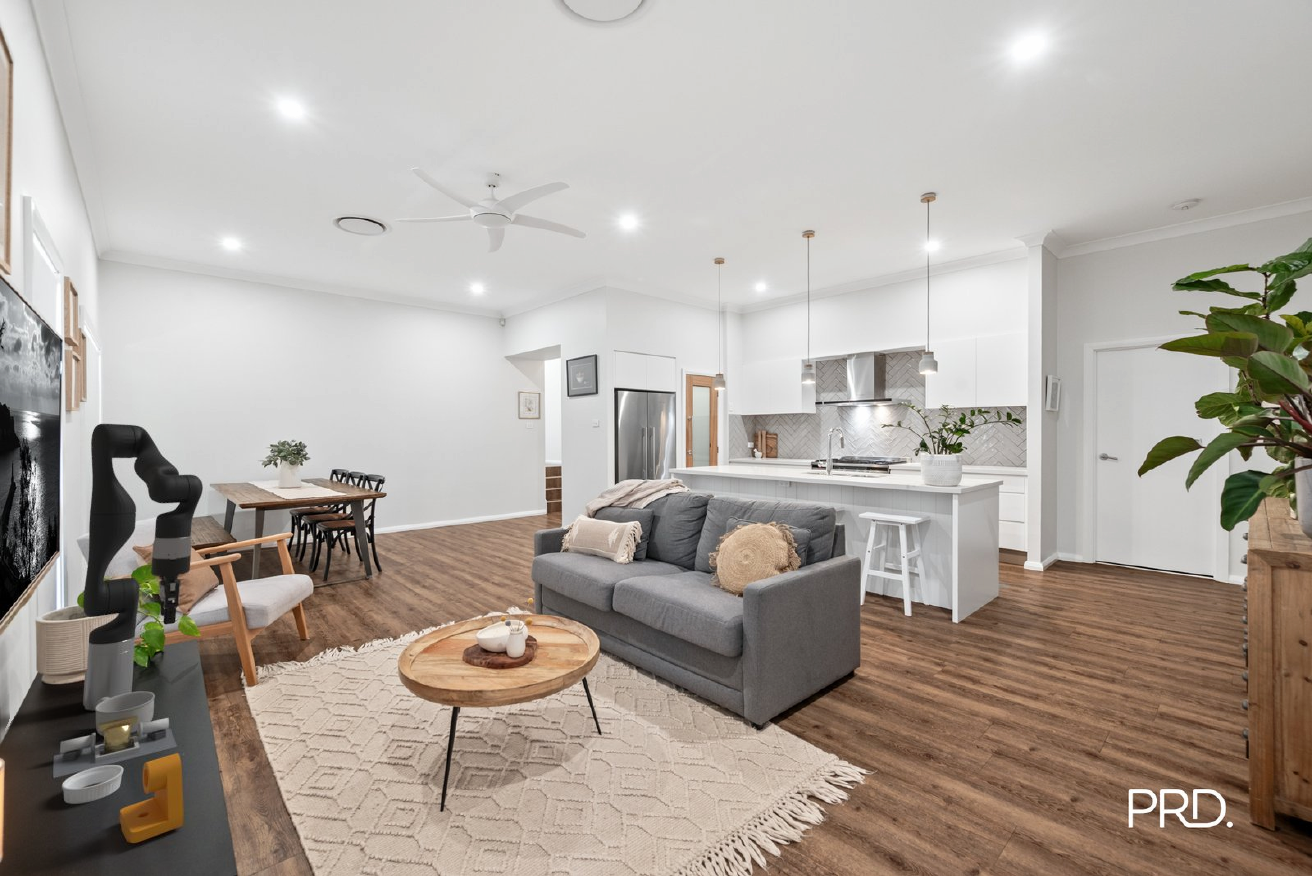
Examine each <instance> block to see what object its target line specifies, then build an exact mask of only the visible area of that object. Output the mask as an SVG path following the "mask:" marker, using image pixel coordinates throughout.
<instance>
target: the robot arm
mask: <svg viewBox="0 0 1312 876" xmlns="http://www.w3.org/2000/svg"><path fill="white" fill-rule="evenodd" d="M90 442H91V443H90V448H91V449H90V452H91V454H90V455H91V470H92V472H91V473H92V474H91V475H92V479H91V480H92V482H91V484H92V486H91V501H90V510H89V524H88V527H89V529H88V531H89V533H88V536H89V537H88V560H87V567H86V569H87V570H86V575H85V576H86V577H85V583H84V589H83V599H82V600H83V602H82V606H83V608H82V609H83V611H84V614H85V616H87V617H88V618H95V617H96V618H97V617H103V616H110V615H117V614H118V615H117V616H116V617H114V618H113V619H112V620H111V621H109V622H107V623H105V624H102V625H101V626H98V627H96V628H94V629H92V630H91V631H90V632H89V635H88V647H87V648H88V649H87V650H88V652H87V667H86V669H85V670H84V681H83V682H84V685H83V686H84V687H83V701H82V705H83V706H84V709H85V710H87V711H95V707H96V706H97V702H98V701H99V700H100V699H102V698H104V697H109V698H112V697H115V696H118V695H121V694H125V693H131V692H133V691H132V690H133V677H134V676H133V675H134V660H135V659H134V658H135V639H136V637H135V635H136V627H137V616H138V607H139V602H140V584H139V582H138V581H139V580H137V579H136V578H135V577H123V578H116V579H115V578H114V579H107V580H104V579H105V575H106V572H107V569H108V567H109V565H110V564H111V562H112V561H113V559H114V557H115V556H116V555H117V554H118V553H119V552H120V550H121V549H122V548H123V547H124V546H125V544H126V543H127V542H128V541H129V539H130V538H131V537H132V535H133V534H134V532H135V529H136V519H137V518H136V516H137V506H136V502H135V501H134V500H133V498H132V497H131V495H130V494H129V492H128V491H127V490H126V489H125V488H124V486H123V485H122V484H121V483H120V481H119V479H118V478H117V475H116V473H115V471H114V465H113V459H133V458H134V459H135V458H136V459H135V460H134V464H133V465H134V466H133V469H134V471H135V475H137V476H138V478H139V479H141V480H142V481H143V482H144V483H145V485H146V488H147V492H148V496H149V499H150V500H151V501H153V502H154V503H158V504H177V503H178V505H177V506H176V507H175V509H174V510H173V509H172V510H170V511H167V512H163V513H160V514H158V515H157V516H156V519H155V527H154V528H155V529H154V530H155V531H154V532H155V533H154V541H153V543H152V556H151V567H150V568H151V569H150V570H151V571H150V574H151V575H152V576H155V577H161V579H160V580H158V588H159V591H158V593H159V595H160V596H159V600H160V601H161V602H160V616H161V617H162V616H163V624H164V625H172V624H175V623H176V617H177V608H179V606H180V603H179V599H180V596H181V594H180V593H181V590H180V589H181V586H182V581H181V579H180V578H178V577H179V576H180V575H185V574H187V573H189V572H190V570H191V556H192V537H191V536H192V521H193V517H194V515H195V512H196V509H197V506H198V504H199V501H200V499H201V497H202V494H203V487H204V486H203V481H202V480H201V479H200V477H199V476H197V475H195V474H180V472H179V470H178V469H177V467H175V465H173V463H171V462H170V461H169V460H168V459H166V458H165V457H164V455H162V453H161V452H160V450H159V448H158V447H157V445H156V443H155V442H154V440H153V438H152V437H151V436H150V434H149V432H148V430H147V429H145V428H144V427H142V426H140V425H135V424H121V423H120V424H119V423H118V424H117V423H99V424H97V425H96V426H95V427H94V429H93V431H92V433H91V440H90Z"/></svg>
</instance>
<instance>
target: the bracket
mask: <svg viewBox="0 0 1312 876" xmlns="http://www.w3.org/2000/svg"><path fill="white" fill-rule="evenodd" d="M182 769H183V768H182V761H181V755H180V754H179V753H178V752H177V753H173V754H171V755H166V756H163V757H159V758H157V759H153V760H150V761H147V762H144V764H143V767H142V786H143V791H144V793H145V794H146V795H147V794H150V793H154V797H152V798H149V799H146V800H143V801H139V802H136V803H134V804H131V805H127V806H125V807H123V808H121V809H120V810H119V823H120V825H121V827H120V830H121V832H122V833H123V836H124V838H125V839H126V842H127V843H130V844H136V843H139V842H140V843H141V842H142V841H145V840H149V839H151V838H153V837H156V836H158V835H161V834H163V833H166V832H169V831H172V830H175V829H177V828H180V827H182V826H184V815H185V814H184V797H183V796H184V792H183V790H184V789H183V771H182Z"/></svg>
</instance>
